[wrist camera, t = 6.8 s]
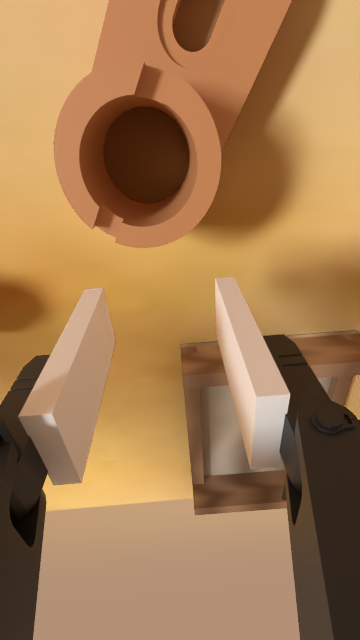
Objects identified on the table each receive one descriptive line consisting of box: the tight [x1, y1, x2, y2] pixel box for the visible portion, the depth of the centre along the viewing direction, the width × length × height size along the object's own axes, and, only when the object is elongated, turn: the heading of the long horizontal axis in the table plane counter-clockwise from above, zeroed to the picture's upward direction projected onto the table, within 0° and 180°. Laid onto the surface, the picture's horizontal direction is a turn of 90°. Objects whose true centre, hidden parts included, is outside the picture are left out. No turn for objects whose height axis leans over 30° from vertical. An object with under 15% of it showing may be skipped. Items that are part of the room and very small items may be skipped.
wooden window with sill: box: [181, 330, 360, 515], centre depth 33 cm, size 17×23×4 cm
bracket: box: [54, 0, 292, 248], centre depth 16 cm, size 18×8×7 cm, turn 155°
